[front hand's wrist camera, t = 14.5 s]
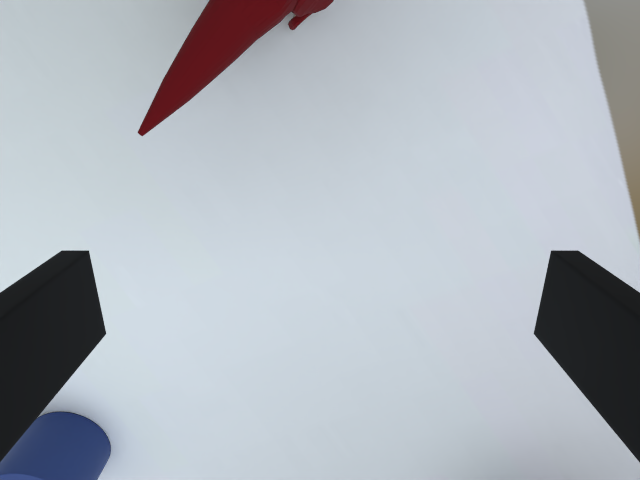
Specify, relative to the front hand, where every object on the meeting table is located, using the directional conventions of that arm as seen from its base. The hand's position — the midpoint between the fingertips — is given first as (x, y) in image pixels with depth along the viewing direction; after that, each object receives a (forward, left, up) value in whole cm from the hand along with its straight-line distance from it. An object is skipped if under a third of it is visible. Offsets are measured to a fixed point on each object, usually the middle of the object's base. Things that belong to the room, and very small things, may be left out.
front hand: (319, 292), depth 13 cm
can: (+26, -33, -25) cm, 49 cm away
